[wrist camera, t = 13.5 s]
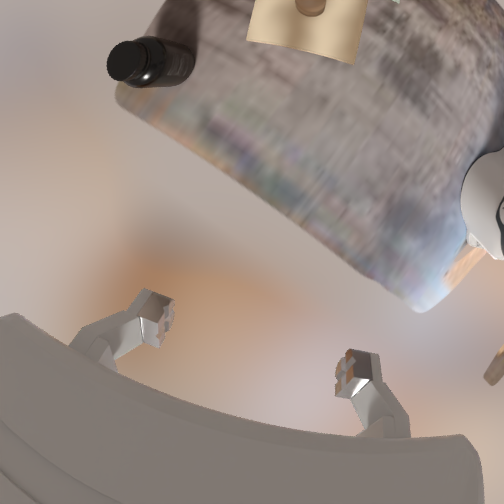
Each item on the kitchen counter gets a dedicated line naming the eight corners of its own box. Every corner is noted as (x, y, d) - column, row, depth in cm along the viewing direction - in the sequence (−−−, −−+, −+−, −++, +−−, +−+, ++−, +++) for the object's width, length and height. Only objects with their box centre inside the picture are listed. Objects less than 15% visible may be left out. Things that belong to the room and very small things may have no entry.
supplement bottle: (174, 35, 28) (125, 21, 18) (205, 61, 30) (163, 52, 20) (144, 69, 31) (90, 69, 21) (172, 96, 33) (123, 102, 23)
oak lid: (369, -15, 17) (378, -30, 13) (353, 64, 23) (360, 59, 20) (267, -37, 17) (260, -54, 14) (247, 40, 24) (237, 32, 20)
